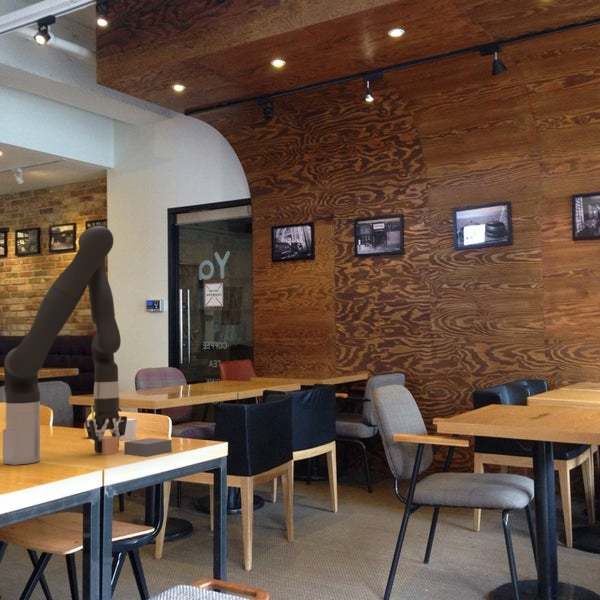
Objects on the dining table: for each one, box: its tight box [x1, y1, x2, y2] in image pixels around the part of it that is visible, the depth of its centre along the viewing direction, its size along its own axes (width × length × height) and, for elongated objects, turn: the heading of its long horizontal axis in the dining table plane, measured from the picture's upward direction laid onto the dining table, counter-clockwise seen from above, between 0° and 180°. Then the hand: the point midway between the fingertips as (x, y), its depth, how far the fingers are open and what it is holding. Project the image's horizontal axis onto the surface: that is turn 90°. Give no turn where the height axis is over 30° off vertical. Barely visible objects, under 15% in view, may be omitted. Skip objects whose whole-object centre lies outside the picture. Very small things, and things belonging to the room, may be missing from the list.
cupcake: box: [83, 404, 105, 437], centre depth 249 cm, size 9×8×12 cm
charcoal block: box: [123, 437, 173, 458], centre depth 211 cm, size 10×10×4 cm
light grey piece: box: [117, 417, 138, 441], centre depth 243 cm, size 7×7×7 cm
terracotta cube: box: [94, 435, 120, 456], centre depth 212 cm, size 5×5×5 cm
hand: (107, 451), depth 212 cm, fingers open, 5 cm apart
